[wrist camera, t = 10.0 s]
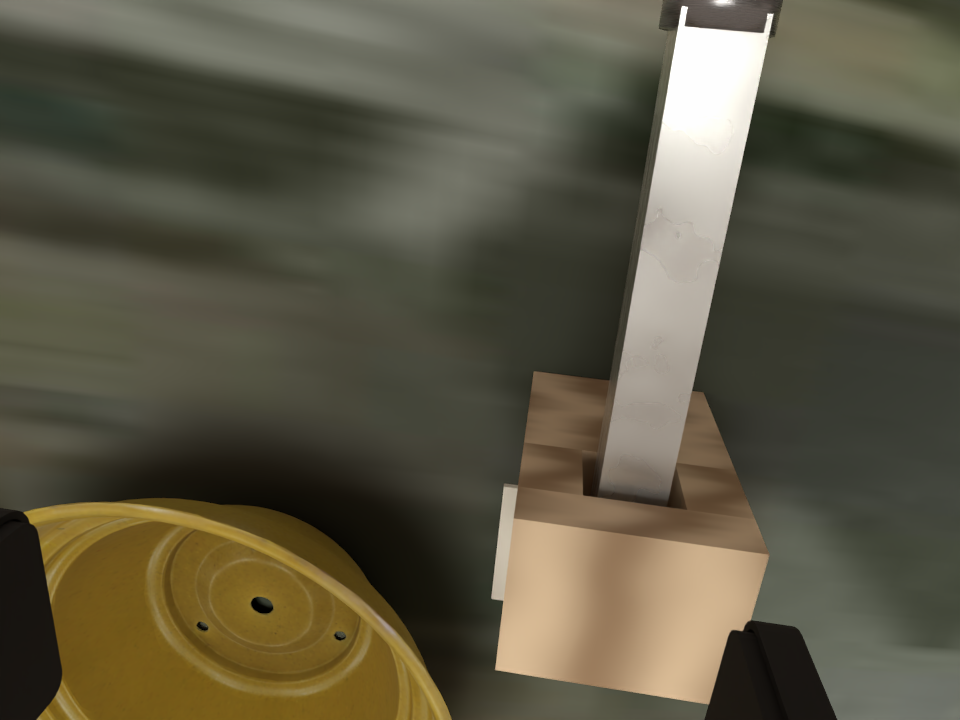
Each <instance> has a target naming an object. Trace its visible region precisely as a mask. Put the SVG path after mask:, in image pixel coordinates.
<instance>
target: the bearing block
mask: <svg viewBox="0 0 960 720" xmlns="http://www.w3.org/2000/svg"><path fill="white" fill-rule="evenodd" d="M608 386H609V381H608V380H600V379H592V378H584V377H576V376H568V375H560V374H552V373H544V372H537V371H534V374H533V381H532V388H531V396H530V403H529V410H528V417H527V425H526V432H525V439H524V446H523V454H522V461H521V468H520V475H519V483H518V490H517V497H516V504H515V512H514V519H513V527H512V535H511V544H510V552H509V560H508V568H507V577H506V585H505V593H504V601H503V610H502V618H501V626H500V634H499V643H498V651H497V659H496V667H495V670H499V671H505V672H511V673H517V674H523V675H530V676H536V677H542V678H548V679H555V680H561V681H567V682H573V683H579V684H586V685H592V686H598V687H604V688H611V689H617V690H623V691H629V692H635V693H642V694H648V695H654V696H660V697H667V698H673V699H679V700H685V701H691V702H698V703H704V704H709V703H710V699H711V695H712V692H713V688H714V685H715V681H716V678H717V674H718V670H719V667H720V663H721V660H722V656H723V653H724V649H725V646H726V642H727V638H728V636H729V633H730V632H731V630H739V631H743V629H744V627H745V624H746V623H747V622H748V621H750V620H751V617H752V613H753V610H754V606H755V603H756V600H757V596H758V593H759V589H760V586H761V582H762V579H763V575H764V572H765V569H766V565H767V562H768V558H769V552H768V550H767V548H766V545H765V543H764V540H763V538H762V535H761V533H760V530H759V528H758V525H757V523H756V521H755V518H754V516H753V513H752V511H751V508H750V506H749V503H748V501H747V498H746V496H745V494H744V491H743V489H742V486H741V484H740V481H739V479H738V476H737V474H736V471H735V469H734V467H733V464H732V462H731V459H730V457H729V454H728V452H727V449H726V447H725V445H724V442H723V440H722V437H721V435H720V432H719V430H718V427H717V425H716V422H715V420H714V418H713V415H712V413H711V410H710V408H709V405H708V403H707V400H706V398H705V395H704V393H703V392H696V391H692V393H691V397H690V402H689V407H688V411H687V416H686V421H685V425H684V430H683V434H682V439H681V444H680V448H679V453H678V457H677V462H676V467H675V471H674V476H673V480H672V485H671V490H670V494H669V499H668V504H667V507H662V506H655V505H648V504H641V503H634V502H626V501H619V500H612V499H605V498H598V497H590V494H591V488H592V482H593V476H594V470H595V464H596V458H597V452H598V446H599V440H600V434H601V428H602V422H603V416H604V410H605V404H606V398H607V392H608Z"/></svg>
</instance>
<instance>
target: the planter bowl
mask: <svg viewBox="0 0 960 720" xmlns="http://www.w3.org/2000/svg"><path fill="white" fill-rule="evenodd" d="M23 513H24V514H25V515H26V516H27V517H28V519H29V522H30V524H32V525H34V526H35V527H36V528H37V531H38V535H39V540H40V546H41V552H42V557H43V563H44V569H45V574H46V580H47V586H48V591H49V597H50V603H51V609H52V614H53V620H54V626H55V631H56V637H57V643H58V648H59V654H60V660H61V665H62V681H61V684H60V687H59V690H58V692H57V694H56V696H55V697H54V699H53V700H52V702H51V703H50V704H49V705H48V706H47V708H46V709H45V710H44V711H43V712H42V714H41V715H40V716H39V717H38V719H37V720H452V718H451V716H450V713H449V711H448V708H447V706H446V704H445V702H444V700H443V698H442V696H441V694H440V692H439V690H438V688H437V687H436V685H435V683H434V681H433V680H432V678H431V676H430V675H429V673H428V670H427V668H426V665H425V663H424V660H423V658H422V656H421V654H420V652H419V650H418V648H417V646H416V644H415V642H414V640H413V638H412V636H411V635H410V633H409V632H408V630H407V628H406V627H405V625H404V624H403V622H402V621H401V620H400V618H399V617H398V615H397V614H396V613H395V611H394V610H393V609H392V608H391V606H390V605H389V604H388V603H387V602H386V601H385V599H384V598H383V597H382V596H381V595H380V594H379V593H378V592H377V591H376V590H375V589H374V588H373V586H372V585H371V584H370V583H369V582H368V580H367V578H366V577H365V575H364V574H363V572H362V571H361V569H360V568H359V567H358V565H357V564H356V563H355V562H354V560H353V559H352V558H351V557H350V556H349V555H348V554H347V552H346V551H344V550H343V549H342V548H341V547H340V546H339V545H338V544H337V543H335V542H334V541H333V540H332V539H331V538H329V537H328V536H327V535H325V534H324V533H322V532H321V531H319V530H318V529H316V528H314V527H313V526H311V525H309V524H307V523H305V522H303V521H301V520H300V519H297V518H295V517H293V516H290V515H287V514H284V513H281V512H278V511H275V510H271V509H267V508H262V507H256V506H246V505H218V504H214V503H209V502H202V501H194V500H186V499H175V498H146V499H131V500H123V501H117V502H81V503H71V504H62V505H54V506H49V507H43V508H38V509H33V510H30V511H26V512H23ZM257 596H258V597H264V598H267V599H269V600H270V601H271V602H272V604H273V611H271V612H270V613H267V614H262V613H259V612H257V611H255V610H254V609H253V607H252V605H251V601H252V599H253V598H255V597H257ZM200 621H201V622H204V623H205V624H206V625H207V626H208V630H206V631H203V630H201V629H199V628H198V626H197V624H198V622H200ZM337 631H340V632H344V633H345V635H346V638H345V639H343V640H341V641H340V640H337V639H336V638H335V636H334V635H335V632H337Z"/></svg>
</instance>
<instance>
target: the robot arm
mask: <svg viewBox="0 0 960 720" xmlns="http://www.w3.org/2000/svg"><path fill="white" fill-rule="evenodd" d="M61 681H62V665H61V660H60V654H59V648H58V643H57V637H56V631H55V626H54V620H53V614H52V609H51V603H50V597H49V591H48V586H47V580H46V574H45V569H44V563H43V557H42V552H41V546H40V540H39V535H38V531H37V528H36V527H35V526H34V525H32V524H30V522H29V519H28V517H27V516H26V515H25V514H24V513H23V512H20V511H16V510H9V509H3V508H0V720H37V719H38V717H39V716H40V715H41V714H42V712H43V711H44V710H45V709H46V708H47V706H48V705H49V704H50V703H51V702H52V700H53V699H54V697H55V696H56V694H57V692H58V690H59V687H60V684H61ZM705 720H837V718H836V716H835V713H834V711H833V709H832V706H831V704H830V701H829V699H828V697H827V694H826V692H825V689H824V687H823V685H822V682H821V680H820V677H819V675H818V673H817V670H816V668H815V665H814V663H813V661H812V658H811V656H810V653H809V651H808V649H807V646H806V644H805V641H804V639H803V637H802V635H801V633H800V631H799V630H798V629H797V628H796V627H793V626H786V625H779V624H772V623H766V622H759V621H752V620H751V621H748V622H747V623H746V624H745V627H744V629H743V631H739V630H731V632H730V633H729V636H728V638H727V642H726V646H725V649H724V653H723V656H722V660H721V663H720V667H719V670H718V674H717V678H716V681H715V685H714V688H713V692H712V695H711V699H710V703H709V706H708V710H707V713H706V717H705Z"/></svg>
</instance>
